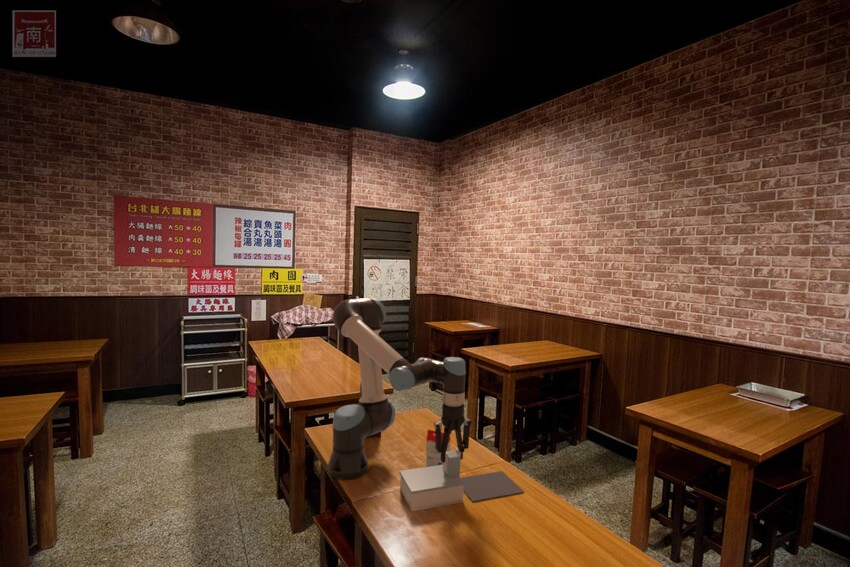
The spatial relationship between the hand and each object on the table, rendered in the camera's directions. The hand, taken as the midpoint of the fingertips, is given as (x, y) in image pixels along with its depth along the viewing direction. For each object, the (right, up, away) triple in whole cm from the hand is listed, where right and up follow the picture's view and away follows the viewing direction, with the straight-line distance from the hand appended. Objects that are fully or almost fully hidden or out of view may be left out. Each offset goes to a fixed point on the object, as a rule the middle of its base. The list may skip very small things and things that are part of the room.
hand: (451, 469), depth 144 cm
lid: (-7, -4, -2) cm, 8 cm away
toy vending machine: (-35, -5, +49) cm, 60 cm away
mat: (+14, -8, +5) cm, 17 cm away
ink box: (-4, -7, +19) cm, 21 cm away
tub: (-7, -8, -2) cm, 11 cm away
